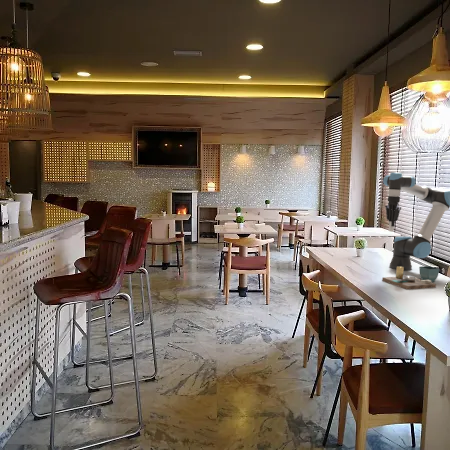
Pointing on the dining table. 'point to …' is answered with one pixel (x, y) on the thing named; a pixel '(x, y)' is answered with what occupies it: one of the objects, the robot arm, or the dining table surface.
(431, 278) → the flower pot
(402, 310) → the dining table surface
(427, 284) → the base plate
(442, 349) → the dining table surface
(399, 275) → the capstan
